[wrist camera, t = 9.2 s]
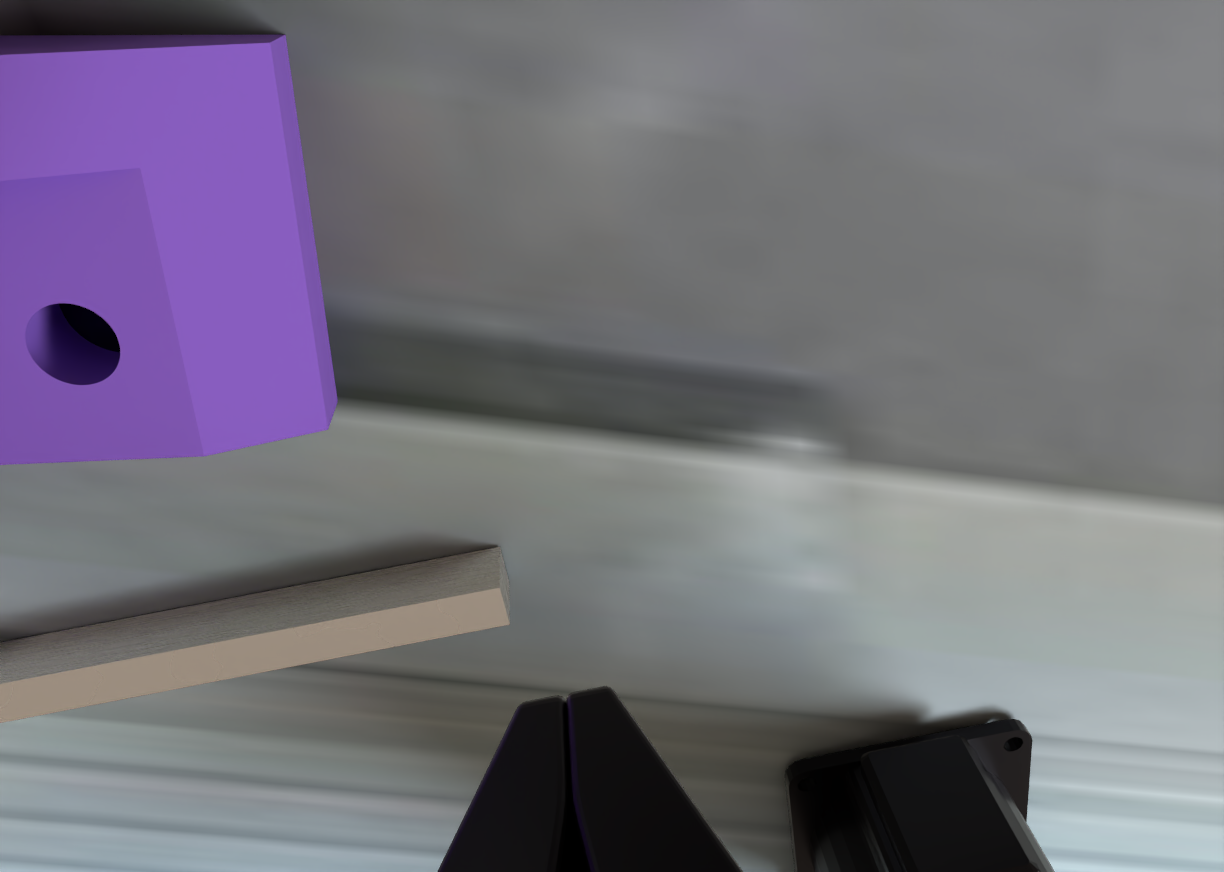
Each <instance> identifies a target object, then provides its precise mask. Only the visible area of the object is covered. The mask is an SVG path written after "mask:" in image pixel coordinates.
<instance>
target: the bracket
mask: <svg viewBox="0 0 1224 872" xmlns="http://www.w3.org/2000/svg"><path fill="white" fill-rule="evenodd" d="M59 303H68V304H75V305H79V306H82V307H85V308H87V309H89V310H91V311H93V312H95V313H96V314H98V315H99V316H100V317H102V318H103V319H104V320H105V321H106V322H107V323H108V324H109V325H110V326H111V328H112V329H113V331H114V332H115V334H116V336H117V338H118V341H119V345H120V352H114V351H110V350H106V349H103V348H101V347H98V346H96V345H94V344H92V343H90V342H89V341H87V340H86V339H84V338H83V337H82V336H80V335H79V334H78V333H77V332H76V331H75V330H74V329H73V328H72V327H71V326H70V324H69V323H68V322H67V320H66V319H65V317H64V315H63V313H62V311H61V309H60V306H59ZM337 402H338V401H337V394H336V387H335V380H334V373H333V366H332V359H331V352H330V345H329V338H328V331H327V324H326V317H325V310H324V303H323V296H322V289H321V282H320V274H319V267H318V260H317V253H316V246H315V239H314V232H313V225H312V218H311V211H310V204H309V197H308V190H307V183H306V176H305V169H304V162H303V155H302V148H301V141H300V134H299V127H298V120H297V113H296V106H295V99H294V92H293V85H292V78H291V71H290V64H289V57H288V50H287V43H286V36H285V35H0V465H6V464H30V463H54V462H78V461H102V460H126V459H150V458H173V457H197V456H207V455H212V454H217V453H221V452H226V451H231V450H235V449H240V448H245V447H249V446H254V445H259V444H263V443H268V442H272V441H277V440H282V439H286V438H291V437H296V436H300V435H305V434H310V433H314V432H319V431H323V430H328V428H329V425H330V422H331V419H332V416H333V413H334V411H335V408H336V405H337Z"/></svg>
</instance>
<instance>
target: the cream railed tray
mask: <svg viewBox="0 0 1224 872" xmlns="http://www.w3.org/2000/svg"><path fill="white" fill-rule="evenodd" d="M505 625H510V594H509V579H508V575H507V571H506V568H505V564H504V560H503V556H502V553H501V549H500V547H495V548H490V549H485V550H479V551H474V552H469V553H464V554H459V555H453V556H448V557H443V558H438V559H433V560H427V561H422V562H417V563H412V564H407V565H401V566H396V567H391V568H386V569H381V570H375V571H370V572H365V573H360V574H354V575H349V576H344V577H339V578H334V579H328V580H323V581H318V582H313V583H308V584H302V585H297V586H292V587H287V588H282V589H276V590H271V591H266V592H261V593H256V594H250V595H245V596H240V597H235V598H230V599H224V600H219V601H214V602H209V603H204V604H198V605H193V606H188V607H183V608H178V609H172V610H167V611H162V612H157V613H152V614H146V615H141V616H136V617H131V618H126V619H120V620H115V621H110V622H105V623H100V624H94V625H89V626H84V627H79V628H74V629H68V630H63V631H58V632H53V633H48V634H42V635H37V636H32V637H27V638H21V639H16V640H11V641H6V642H1V643H0V723H3V722H8V721H13V720H18V719H23V718H28V717H34V716H39V715H44V714H49V713H54V712H59V711H65V710H70V709H75V708H80V707H85V706H91V705H96V704H101V703H106V702H111V701H116V700H122V699H127V698H132V697H137V696H142V695H148V694H153V693H158V692H163V691H168V690H173V689H179V688H184V687H189V686H194V685H199V684H204V683H210V682H215V681H220V680H225V679H230V678H236V677H241V676H246V675H251V674H256V673H261V672H267V671H272V670H277V669H282V668H287V667H293V666H298V665H303V664H308V663H313V662H318V661H324V660H329V659H334V658H339V657H344V656H349V655H355V654H360V653H365V652H370V651H375V650H381V649H386V648H391V647H396V646H401V645H406V644H412V643H417V642H422V641H427V640H432V639H438V638H443V637H448V636H453V635H458V634H463V633H469V632H474V631H479V630H484V629H489V628H494V627H500V626H505Z"/></svg>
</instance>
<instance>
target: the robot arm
mask: <svg viewBox="0 0 1224 872" xmlns="http://www.w3.org/2000/svg"><path fill="white" fill-rule="evenodd" d="M1031 749H1032V738H1031V735H1030V733H1029V732H1028V730H1027V729H1026V727H1025V726H1024V724H1023V723H1022V722H1021V721H1019V720H1016V719H1007V720H1002V721H997V722H991V723H986V724H981V725H976V726H971V727H966V728H961V729H956V730H950V731H945V732H940V733H935V734H930V735H925V736H920V737H915V738H909V739H904V740H899V741H894V742H889V743H884V744H879V745H874V746H869V747H863V748H858V749H853V750H848V751H843V752H838V753H833V754H828V755H822V756H817V757H812V758H807V759H802V760H799V761H796V762H794V763H793V764H791V765H790V766H789V767H788V768H787V770H786V772H785V783H786V793H787V802H788V812H789V821H790V831H791V840H792V849H793V859H794V868H795V872H1055V871H1054V870H1053V868H1052V866H1051V864H1050V863H1049V861H1048V859H1047V858H1046V856H1045V854H1044V852H1043V851H1042V849H1041V847H1040V845H1039V844H1038V842H1037V840H1036V839H1035V837H1034V835H1033V833H1032V832H1031V830H1030V828H1029V826H1028V825H1027V823H1026V819H1027V805H1028V791H1029V777H1030V763H1031ZM805 778H806V779H805ZM438 872H743V871H742V870H741V868H740V867H739V865H738V864H737V863H736V861H735V860H734V858H733V857H732V856H731V854H730V853H729V851H728V850H727V848H726V847H725V846H724V844H723V843H722V841H721V840H720V839H719V837H718V836H717V834H716V833H715V832H714V830H713V829H712V827H711V826H710V825H709V823H708V822H707V820H706V819H705V818H704V816H703V815H702V813H701V812H700V811H699V809H698V808H697V806H696V805H695V804H694V802H693V801H692V799H691V798H690V797H689V795H688V794H687V792H686V791H685V790H684V788H683V787H682V785H681V784H680V783H679V781H678V780H677V778H676V777H675V775H674V774H673V773H672V771H671V770H670V768H669V767H668V766H667V764H666V763H665V761H664V760H663V759H662V757H661V756H660V754H659V753H658V752H657V750H656V749H655V747H654V746H653V745H652V743H651V742H650V740H649V739H648V738H647V736H646V735H645V733H644V732H643V731H642V729H641V728H640V726H639V725H638V724H637V722H636V721H635V719H634V718H633V717H632V715H631V714H630V712H629V711H628V710H627V708H626V707H625V705H624V704H623V702H622V701H621V700H620V698H619V697H618V695H617V694H616V693H615V691H614V690H613V689H611V688H610V687H607V686H603V687H598V688H592V689H587V690H582V691H577V692H573V693H571V694H569V695H568V697H567V700H565V699H564V698H563V697H561V696H551V697H546V698H541V699H536V700H531V701H526V702H523V703H522V704H520V705H519V706H518V708H517V709H516V711H515V713H514V715H513V717H512V720H511V722H510V724H509V726H508V728H507V730H506V732H505V734H504V736H503V738H502V740H501V742H500V744H499V746H498V748H497V750H496V752H495V754H494V757H493V759H492V761H491V763H490V765H489V767H488V769H487V771H486V773H485V775H484V777H483V779H482V781H481V783H480V785H479V787H478V789H477V791H476V794H475V796H474V798H473V800H472V802H471V804H470V806H469V808H468V810H467V812H466V814H465V816H464V818H463V820H462V822H461V824H460V826H459V829H458V831H457V833H456V835H455V837H454V839H453V841H452V843H451V845H450V847H449V849H448V851H447V853H446V855H445V857H444V859H443V861H442V863H441V866H440V868H439V870H438Z"/></svg>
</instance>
